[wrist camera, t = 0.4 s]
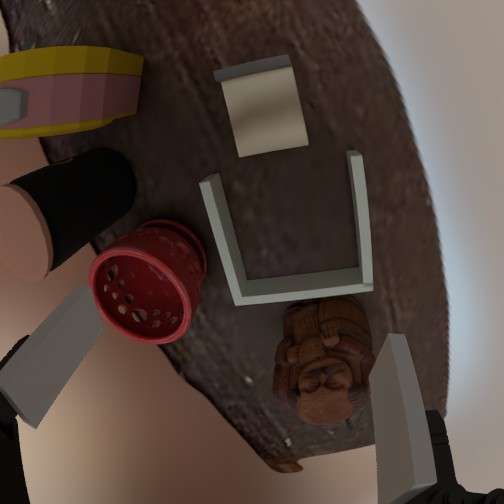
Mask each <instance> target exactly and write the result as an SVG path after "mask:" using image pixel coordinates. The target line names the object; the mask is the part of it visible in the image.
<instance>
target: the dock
mask: <svg viewBox="0 0 504 504" xmlns="http://www.w3.org/2000/svg"><path fill="white" fill-rule="evenodd" d="M346 156H347V163H348V170H349V177H350V184H351V191H352V199H353V208H354V217H355V226H356V237H357V248H358V261H359V267H355V268H347V269H340V270H332V271H324V272H316V273H308V274H299V275H291V276H282V277H274V278H265V279H256V280H247V276H246V272H245V269H244V265H243V261H242V258H241V254H240V250H239V247H238V243H237V239H236V235H235V232H234V228H233V224H232V220H231V217H230V213H229V209H228V205H227V202H226V198H225V194H224V190H223V186H222V183H221V179H220V175H219V173H216V174H212V175H209V176H208V177H206V178H205V179H204V180H203V181H201V182H200V183H199V185H200V188H201V192H202V195H203V199H204V202H205V206H206V209H207V213H208V216H209V220H210V223H211V227H212V230H213V234H214V237H215V240H216V244H217V247H218V250H219V254H220V257H221V260H222V264H223V267H224V270H225V274H226V277H227V280H228V284H229V287H230V290H231V293H232V296H233V300H234V303H235V306H237V305H249V304H260V303H271V302H281V301H291V300H300V299H309V298H318V297H327V296H335V295H343V294H351V293H359V292H366V291H373V271H372V251H371V235H370V222H369V211H368V201H367V191H366V183H365V175H364V167H363V160H362V155H361V154H360V153H359V152H358V151H357V150H349V151H346Z"/></svg>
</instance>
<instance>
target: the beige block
mask: <svg viewBox="0 0 504 504" xmlns="http://www.w3.org/2000/svg"><path fill="white" fill-rule="evenodd" d="M213 74H214V78H215V81H217V82H221V84H222V88H223V92H224V97H225V101H226V105H227V109H228V113H229V117H230V121H231V125H232V129H233V134H234V138H235V142H236V146H237V150H238V154H239V157H244V156H249V155H254V154H260V153H265V152H270V151H276V150H282V149H287V148H294V147H300V146H306V145H309V144H308V136H307V131H306V126H305V121H304V116H303V112H302V107H301V102H300V98H299V93H298V89H297V85H296V80H295V76H294V72H293V68H292V64H291V61H290V58H289V55H288V54H286V55H280V56H275V57H270V58H265V59H260V60H256V61H251V62H247V63H243V64H239V65H235V66H231V67H227V68H223V69H220V70H216V71H213Z"/></svg>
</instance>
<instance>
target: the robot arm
mask: <svg viewBox="0 0 504 504" xmlns="http://www.w3.org/2000/svg"><path fill="white" fill-rule="evenodd" d="M102 332H103V327H102V324H101V321H100V318H99V314H98V310H97V307H96V303H95V299H94V296H93V292H92V288H91V287H89V286H85V285H81V284H79V285H78V286H77V287H76V288H75V289H74V290H73V291H72V292H71V293H70V294H69V295H68V296H67V297H66V298H65V299H64V300H63V301H62V302H61V303H60V304H59V305H58V306H57V307H56V308H55V309H54V310H53V311H52V312H51V314H50V315H49V316H48V317H47V318H46V319H45V320H44V321H43V322H42V323H41V324H40V325H39V327H38V328H37V329H36V330H35V331H34V332H33V333H32V334H31V335H26V336H25V337H23V338H22V339H20V340H19V341H18V342H17V343H16V344H15V345H14V346H13V347H12V350H10V351H9V352H8V353H7V356H5V357H4V358H3V359H2V360H1V362H0V504H30V501H29V496H28V493H27V487H26V482H25V477H24V471H23V465H22V458H21V452H20V442H19V433H18V423H17V419H16V418H15V417H16V416H17V414H18V415H19V416H20V418H21V419H22V420H23V421H24V422H25V423H27V424H28V425H30V426H31V427H33V428H35V429H36V428H37V427H38V425H39V424H40V422H41V421H42V419H43V417H44V416H45V414H46V413H47V411H48V410H49V408H50V406H51V405H52V404H53V402H54V400H55V399H56V397H57V396H58V394H59V393H60V391H61V390H62V389H63V387H64V386H65V384H66V383H67V381H68V380H69V378H70V377H71V376H72V374H73V373H74V371H75V370H76V368H77V367H78V366H79V364H80V363H81V361H82V360H83V358H84V357H85V356H86V354H87V353H88V351H89V350H90V349H91V347H92V346H93V345H94V343H95V342H96V341H97V339H98V338H99V336H100V335H101V334H102ZM369 384H370V392H371V401H372V410H373V421H374V432H375V445H376V461H377V483H378V504H504V489H500V488H498V489H495V490H493V491H491V492H489V493H488V494H482V493H472V492H468V491H466V490H465V488H463V487H462V486H461V485H460V484H458V483H457V480H456V477H455V471H454V465H453V460H452V455H451V450H450V445H449V444H448V443H449V440H448V436H447V435H446V434H447V431H446V427H445V422H444V420H443V418H442V417H441V415H440V414H439V412H438V411H437V410H429V411H425V410H424V405H423V401H422V397H421V392H420V388H419V384H418V380H417V376H416V373H415V369H414V365H413V361H412V358H411V354H410V351H409V347H408V344H407V341H406V337H405V335H404V334H390V333H388V335H387V338H386V340H385V342H384V344H383V347H382V349H381V351H380V353H379V356H378V358H377V360H376V362H375V364H374V366H373V368H372V370H371V373H370V375H369Z"/></svg>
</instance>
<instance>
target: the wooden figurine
mask: <svg viewBox="0 0 504 504" xmlns="http://www.w3.org/2000/svg"><path fill="white" fill-rule="evenodd" d="M283 334H284V339H283V340H282V341H281V342H280V343H279V345H278V346H277V350H276V354H275V363H276V366H275V369H274V376H273V395H274V398H275V399H276V400H277V401H278V402H279V403H280V404H282V405H284V406H286V407H288V408H290V409H292V411H293V412H294V413H295V414H297V416H298V417H300V418H301V419H302V420H304V421H306V422H308V423H311V424H315V425H328V424H333V423H336V422H339V421H342V420H344V419H346V418H348V417H350V416H352V415H353V414H354V413H356V412H357V411H358V410H359V409H360V408H361V407H362V406H363V405H364V404H365V403H366V401H367V399H368V395H369V394H371V392H370V384H369V375H370V373H371V370H372V368H373V366H374V364H375V362H376V359H375V356H374V354H373V353H372V352H371V351H372V346H373V345H372V336H371V332H370V328H369V324H368V320H367V317H366V315H365V312H364V310H363V307H362V305H361V304H360V303H359V302H358V301H357V300H356V299H354V298H353V297H352V296H350V295H347V294H343V295H335V296H327V297H318V298H310V299H305V300H303V301H302V302H301V304H300V306H295V307H291V308H289V309H286V311H285V315H284V333H283Z"/></svg>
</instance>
